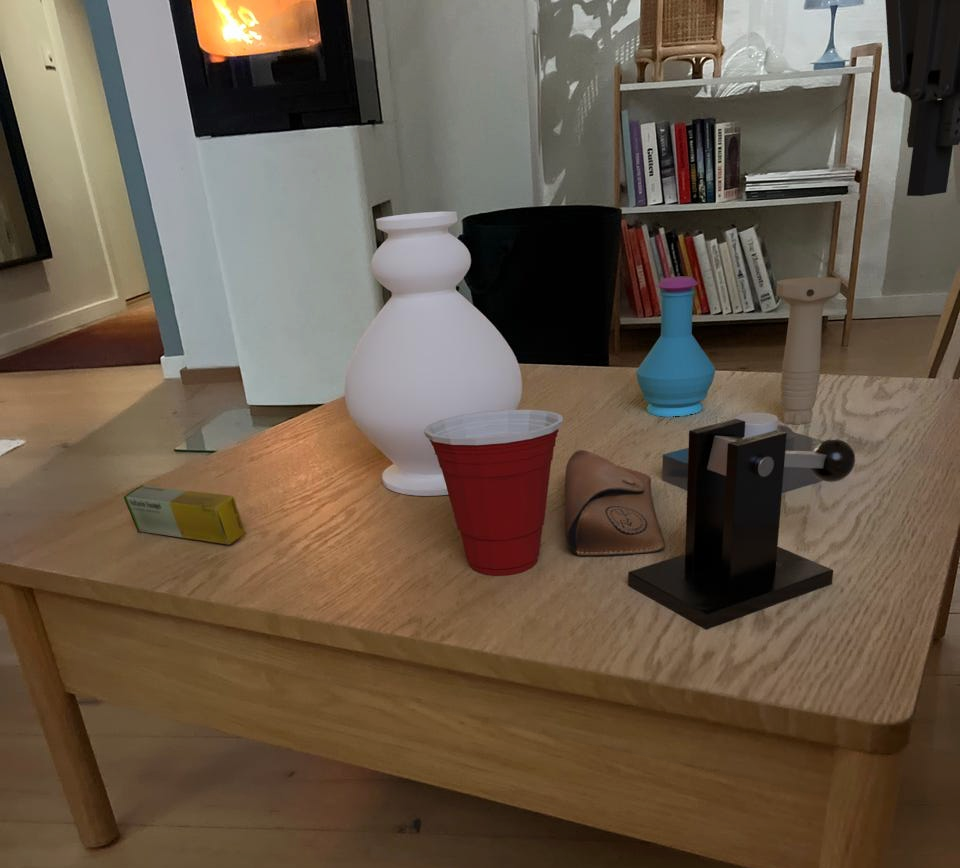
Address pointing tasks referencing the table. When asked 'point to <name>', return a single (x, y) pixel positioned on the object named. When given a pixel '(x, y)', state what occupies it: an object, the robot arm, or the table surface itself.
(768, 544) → the lever bracket
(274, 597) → the table surface
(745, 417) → the flush button
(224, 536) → the medication box
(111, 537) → the table surface
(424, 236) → the decorative vase
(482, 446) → the plastic cup
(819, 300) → the handle
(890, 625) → the table surface
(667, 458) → the block
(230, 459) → the table surface
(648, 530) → the sunglasses case
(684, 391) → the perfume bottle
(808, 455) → the lever with black ball
